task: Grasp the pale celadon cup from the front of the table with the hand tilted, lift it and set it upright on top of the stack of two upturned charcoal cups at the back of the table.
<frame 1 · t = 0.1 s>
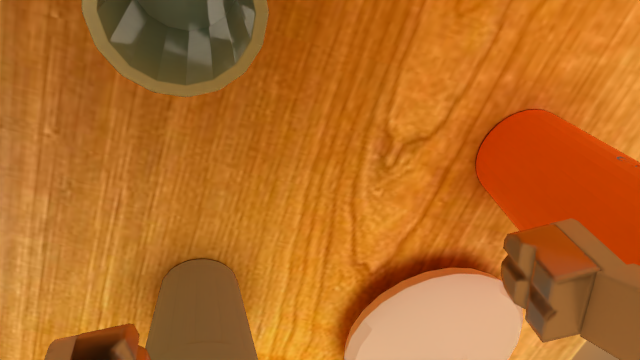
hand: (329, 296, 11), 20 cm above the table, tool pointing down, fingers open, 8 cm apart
cup 2: (200, 285, 36), on the table
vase: (420, 317, 43), on the table
shaker bottle: (518, 151, 36), on the table
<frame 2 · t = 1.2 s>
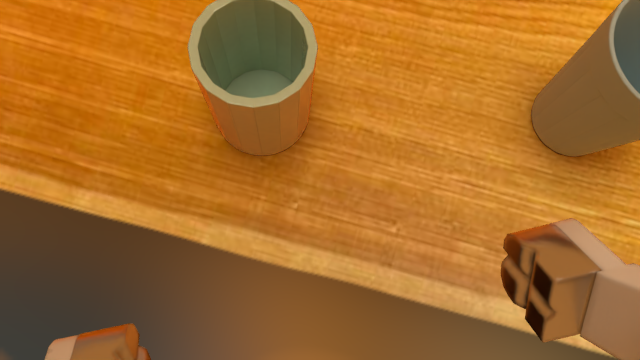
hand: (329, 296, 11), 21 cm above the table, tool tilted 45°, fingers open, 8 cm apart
cup 2: (566, 120, 35), on the table
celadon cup: (262, 110, 33), on the table
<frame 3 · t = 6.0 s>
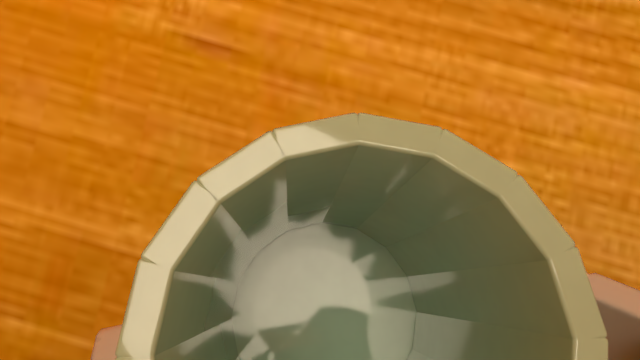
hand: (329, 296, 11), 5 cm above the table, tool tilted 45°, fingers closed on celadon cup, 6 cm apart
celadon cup: (323, 314, 15), on the table, touching gripper
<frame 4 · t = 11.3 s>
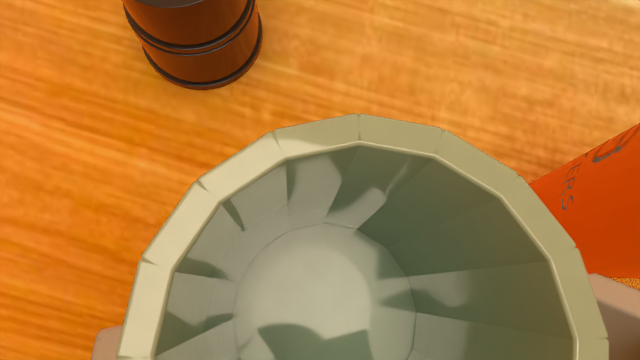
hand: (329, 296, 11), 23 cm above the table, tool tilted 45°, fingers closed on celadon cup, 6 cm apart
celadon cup: (323, 314, 15), point 19 cm above the table, touching gripper
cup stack: (203, 34, 37), on the table
shaker bottle: (553, 226, 35), on the table
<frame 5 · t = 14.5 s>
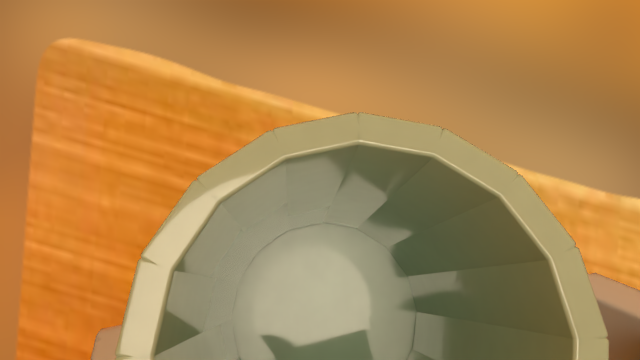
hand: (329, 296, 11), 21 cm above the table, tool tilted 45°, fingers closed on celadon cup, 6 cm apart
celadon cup: (323, 314, 15), point 17 cm above the table, touching gripper
when the fingers open (15 cm above the table, at t = 17.0 s): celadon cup stays where it is, resting on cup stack.
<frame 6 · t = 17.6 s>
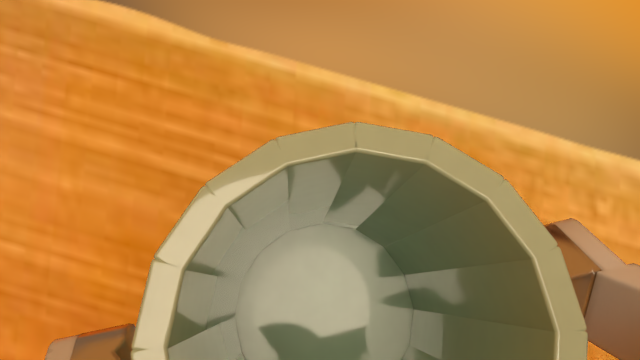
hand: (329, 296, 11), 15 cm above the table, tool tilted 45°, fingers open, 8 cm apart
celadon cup: (323, 311, 16), point 10 cm above the table, touching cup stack
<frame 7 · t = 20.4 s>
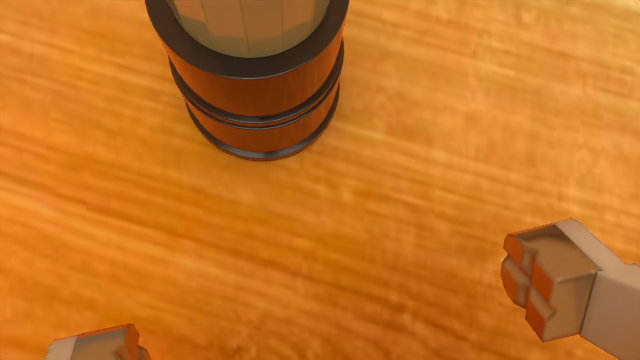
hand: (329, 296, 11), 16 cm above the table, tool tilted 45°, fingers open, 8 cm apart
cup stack: (262, 87, 29), on the table
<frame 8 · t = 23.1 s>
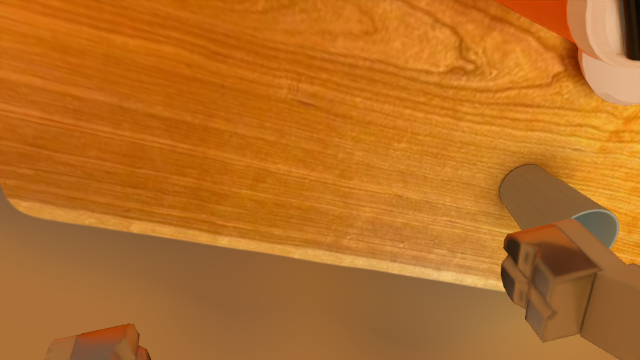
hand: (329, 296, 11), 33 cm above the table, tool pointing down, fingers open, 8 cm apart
cup 2: (520, 184, 55), on the table
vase: (636, 16, 47), on the table
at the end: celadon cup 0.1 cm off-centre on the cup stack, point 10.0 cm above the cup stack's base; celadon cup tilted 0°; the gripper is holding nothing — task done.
